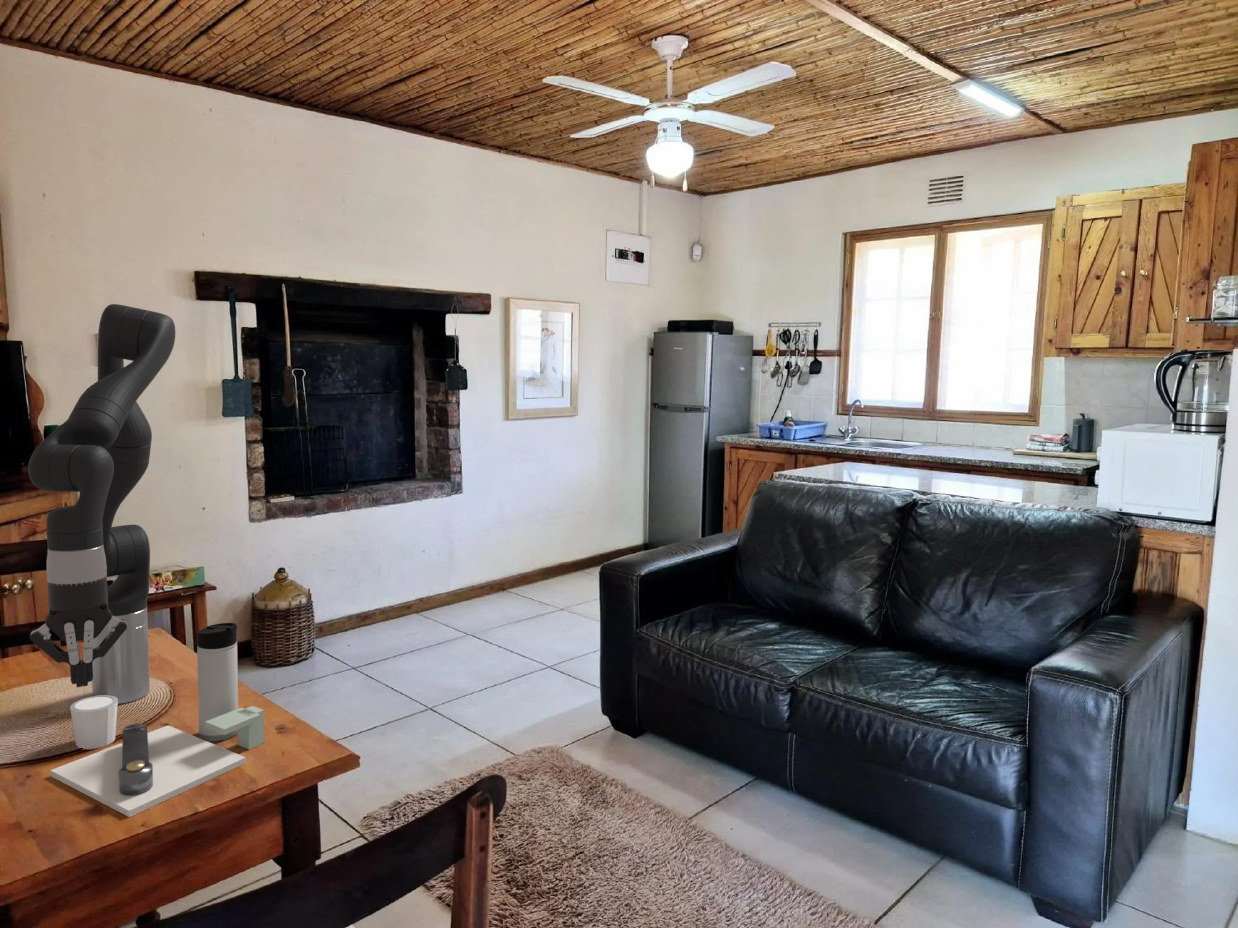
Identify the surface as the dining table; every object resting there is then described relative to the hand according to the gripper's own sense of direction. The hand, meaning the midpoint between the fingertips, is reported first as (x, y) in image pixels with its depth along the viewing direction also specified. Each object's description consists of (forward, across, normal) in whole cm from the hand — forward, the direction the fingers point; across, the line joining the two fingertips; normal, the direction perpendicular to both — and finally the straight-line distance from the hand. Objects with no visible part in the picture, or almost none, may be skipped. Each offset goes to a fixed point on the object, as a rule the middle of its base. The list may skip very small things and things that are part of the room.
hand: (82, 684), depth 125 cm
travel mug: (+16, +19, +7) cm, 26 cm away
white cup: (+15, +1, +13) cm, 20 cm away
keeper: (+15, +21, 0) cm, 26 cm away
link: (+14, +7, -2) cm, 16 cm away
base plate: (+15, +9, -1) cm, 18 cm away
